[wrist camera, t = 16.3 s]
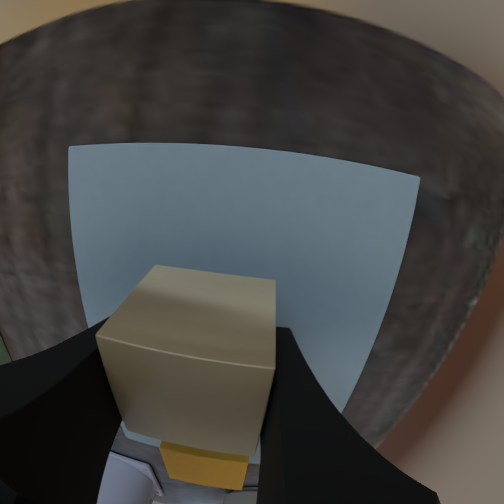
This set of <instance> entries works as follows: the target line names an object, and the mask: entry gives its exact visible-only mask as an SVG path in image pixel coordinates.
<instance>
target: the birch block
mask: <svg viewBox="0 0 504 504" xmlns="http://www.w3.org/2000/svg"><path fill="white" fill-rule="evenodd" d="M95 336H96V340H97V344H98V348H99V351H100V355H101V358H102V362H103V365H104V368H105V372H106V375H107V378H108V381H109V384H110V387H111V390H112V393H113V396H114V398H115V401H116V404H117V407H118V409H119V412H120V414H121V417H122V419H123V422H124V424H125V427H126V429H127V430H128V431H131V432H134V433H137V434H140V435H144V436H147V437H151V438H155V439H158V440H162V441H166V442H170V443H175V444H179V445H184V446H188V447H193V448H198V449H204V450H210V451H216V452H222V453H229V454H237V455H246V456H255V454H256V450H257V446H258V442H259V438H260V434H261V430H262V426H263V422H264V418H265V413H266V409H267V405H268V400H269V396H270V392H271V387H272V383H273V378H274V373H275V369H276V280H272V279H264V278H255V277H247V276H239V275H230V274H222V273H215V272H207V271H199V270H192V269H184V268H177V267H170V266H163V265H155V266H154V267H153V268H152V269H151V270H150V271H149V272H148V274H147V275H146V276H145V277H144V278H143V279H142V280H141V281H140V283H139V284H138V285H137V286H136V287H135V288H134V289H133V290H132V292H131V293H130V294H129V295H128V296H127V297H126V299H125V300H124V301H123V302H122V303H121V304H120V306H119V307H118V308H117V309H116V310H115V311H114V313H113V314H112V315H111V316H110V317H109V319H108V320H107V321H106V322H105V323H104V325H103V326H102V327H101V328H100V329H99V331H98V332H97V333H96V335H95Z"/></svg>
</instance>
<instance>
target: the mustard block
mask: <svg viewBox="0 0 504 504" xmlns="http://www.w3.org/2000/svg"><path fill="white" fill-rule="evenodd" d="M159 449H160V452H161V455H162V458H163V461H164V463H165V466H166V469H167V472H168V475H169V477H170V478H172V479H176V480H180V481H185V482H190V483H195V484H200V485H206V486H211V487H218V488H225V489H232V490H242V488H243V484H244V480H245V476H246V471H247V467H248V462H249V456H246V455H237V454H229V453H222V452H216V451H210V450H204V449H198V448H193V447H188V446H184V445H179V444H175V443H170V442H166V441H162V440H161V443H160V446H159Z"/></svg>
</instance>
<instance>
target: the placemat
mask: <svg viewBox="0 0 504 504" xmlns="http://www.w3.org/2000/svg"><path fill="white" fill-rule="evenodd" d="M68 178H69V204H70V218H71V230H72V239H73V248H74V255H75V262H76V269H77V275H78V281H79V286H80V292H81V297H82V302H83V306H84V311H85V315H86V320H87V324H88V328H90V327H92V326H93V325H95V324H97V323H99V322H100V321H102V320H104V319H106V318H107V317H109V316H111V315H112V314H113V313H114V311H115V310H116V309H117V308H118V307H119V306H120V304H121V303H122V302H123V301H124V300H125V299H126V297H127V296H128V295H129V294H130V293H131V292H132V290H133V289H134V288H135V287H136V286H137V285H138V284H139V283H140V281H141V280H142V279H143V278H144V277H145V276H146V275H147V274H148V272H149V271H150V270H151V269H152V268H153V267H154V266H155V265H163V266H170V267H177V268H184V269H192V270H199V271H207V272H215V273H222V274H230V275H239V276H247V277H255V278H264V279H272V280H276V326H278V327H288V328H290V329H291V331H292V333H293V335H294V338H295V340H296V342H297V344H298V346H299V348H300V350H301V352H302V354H303V356H304V358H305V360H306V362H307V364H308V366H309V367H310V369H311V371H312V372H313V374H314V376H315V378H316V379H317V381H318V382H319V384H320V385H321V387H322V388H323V390H324V391H325V393H326V394H327V396H328V397H329V399H330V400H331V401H332V403H333V404H334V405H335V407H336V408H337V409H338V411H339V412H340V413H342V411H343V409H344V407H345V405H346V403H347V401H348V399H349V397H350V395H351V393H352V391H353V389H354V387H355V385H356V383H357V381H358V378H359V376H360V374H361V372H362V370H363V367H364V365H365V363H366V361H367V358H368V356H369V353H370V351H371V349H372V346H373V344H374V341H375V339H376V336H377V334H378V331H379V328H380V326H381V323H382V320H383V318H384V315H385V312H386V309H387V306H388V303H389V300H390V298H391V294H392V291H393V288H394V285H395V282H396V279H397V275H398V272H399V269H400V265H401V262H402V258H403V255H404V251H405V247H406V243H407V239H408V235H409V231H410V227H411V223H412V218H413V213H414V209H415V204H416V199H417V194H418V188H419V182H420V177H417V176H414V175H410V174H406V173H402V172H398V171H393V170H389V169H385V168H380V167H375V166H371V165H366V164H361V163H356V162H350V161H345V160H339V159H334V158H328V157H322V156H315V155H309V154H302V153H294V152H287V151H278V150H270V149H260V148H250V147H238V146H225V145H209V144H187V143H116V144H95V145H80V146H70V147H69V153H68ZM121 426H122V429H123V431H124V433H125V435H126V437H127V438H129V439H132V440H135V441H139V442H142V443H145V444H149V445H153V446H156V447H159V446H160V443H161V440H158V439H155V438H151V437H147V436H144V435H140V434H137V433H134V432H131V431H128V430H127V429H126V427H125V424H124V422H123V421H122V422H121ZM260 454H261V453H260V438H259V442H258V446H257V450H256V454H255V456H249V462H248V463H250V464H260Z"/></svg>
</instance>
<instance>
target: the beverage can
mask: <svg viewBox="0 0 504 504" xmlns="http://www.w3.org/2000/svg"><path fill="white" fill-rule="evenodd" d="M257 492H258V487H246V488H242V490H234V491H233V492H231V493H228V494H226V495H225V496H224V499H223V504H256V501H257Z"/></svg>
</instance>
